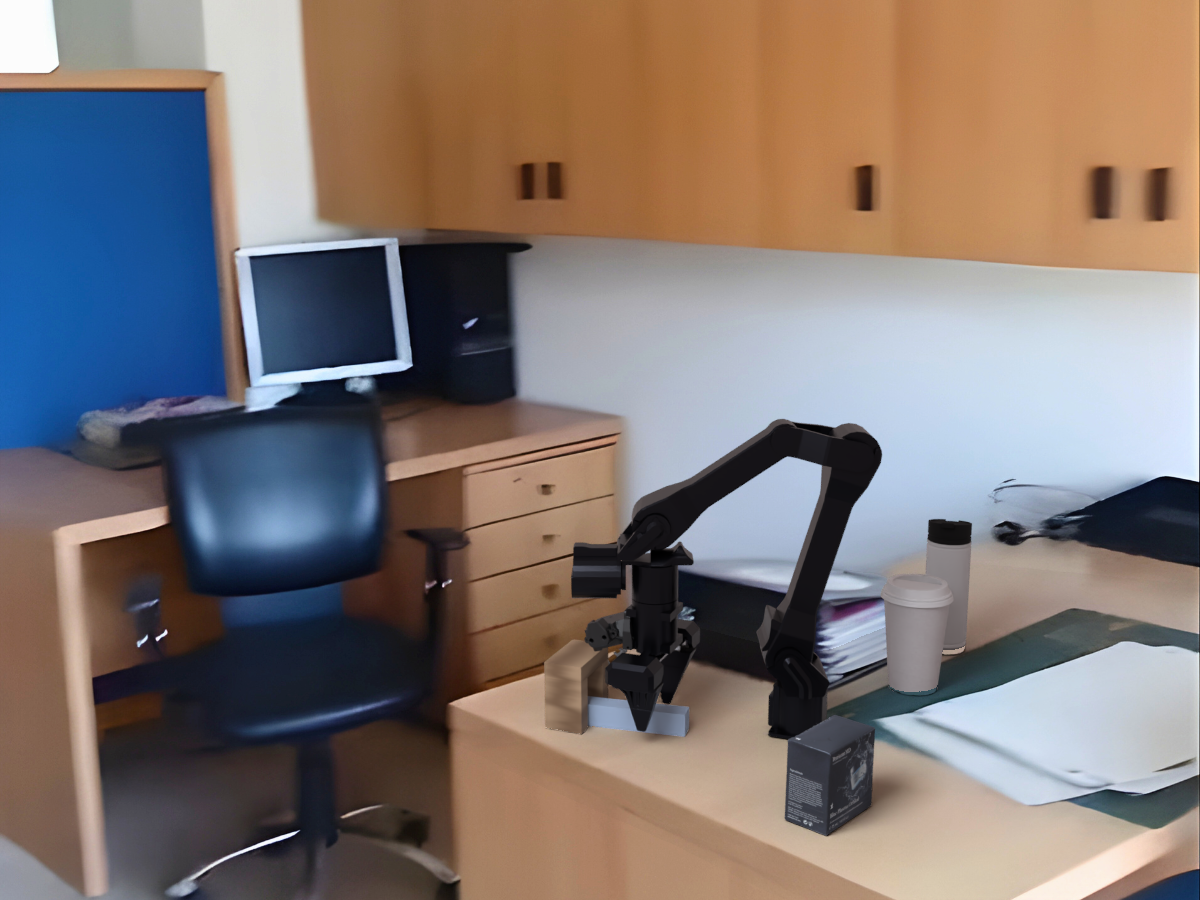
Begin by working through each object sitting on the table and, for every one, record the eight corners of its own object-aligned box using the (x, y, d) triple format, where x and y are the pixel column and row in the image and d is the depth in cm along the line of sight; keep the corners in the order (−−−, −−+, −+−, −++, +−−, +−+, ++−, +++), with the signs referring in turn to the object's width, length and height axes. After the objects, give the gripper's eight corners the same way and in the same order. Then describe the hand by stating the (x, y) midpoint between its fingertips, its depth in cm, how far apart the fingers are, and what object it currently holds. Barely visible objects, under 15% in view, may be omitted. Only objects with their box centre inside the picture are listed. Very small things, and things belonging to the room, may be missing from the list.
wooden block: (608, 707, 163) (608, 644, 162) (581, 734, 155) (581, 667, 154) (573, 702, 165) (572, 639, 164) (545, 728, 157) (544, 662, 155)
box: (827, 838, 130) (830, 753, 128) (782, 821, 133) (785, 738, 131) (873, 807, 136) (877, 726, 134) (830, 791, 140) (832, 712, 138)
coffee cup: (963, 689, 169) (969, 583, 166) (919, 706, 163) (924, 597, 160) (905, 669, 177) (910, 567, 174) (862, 685, 171) (866, 580, 168)
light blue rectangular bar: (689, 730, 157) (689, 706, 156) (684, 739, 155) (685, 714, 154) (567, 717, 161) (567, 694, 161) (561, 725, 159) (561, 701, 158)
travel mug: (918, 653, 183) (925, 521, 179) (925, 639, 189) (931, 511, 185) (962, 658, 180) (970, 525, 177) (967, 644, 186) (974, 514, 183)
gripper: (621, 570, 164) (621, 682, 167) (564, 612, 148) (565, 735, 151) (701, 579, 160) (700, 693, 163) (652, 624, 143) (652, 750, 146)
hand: (654, 716), depth 156 cm, fingers open, 9 cm apart
